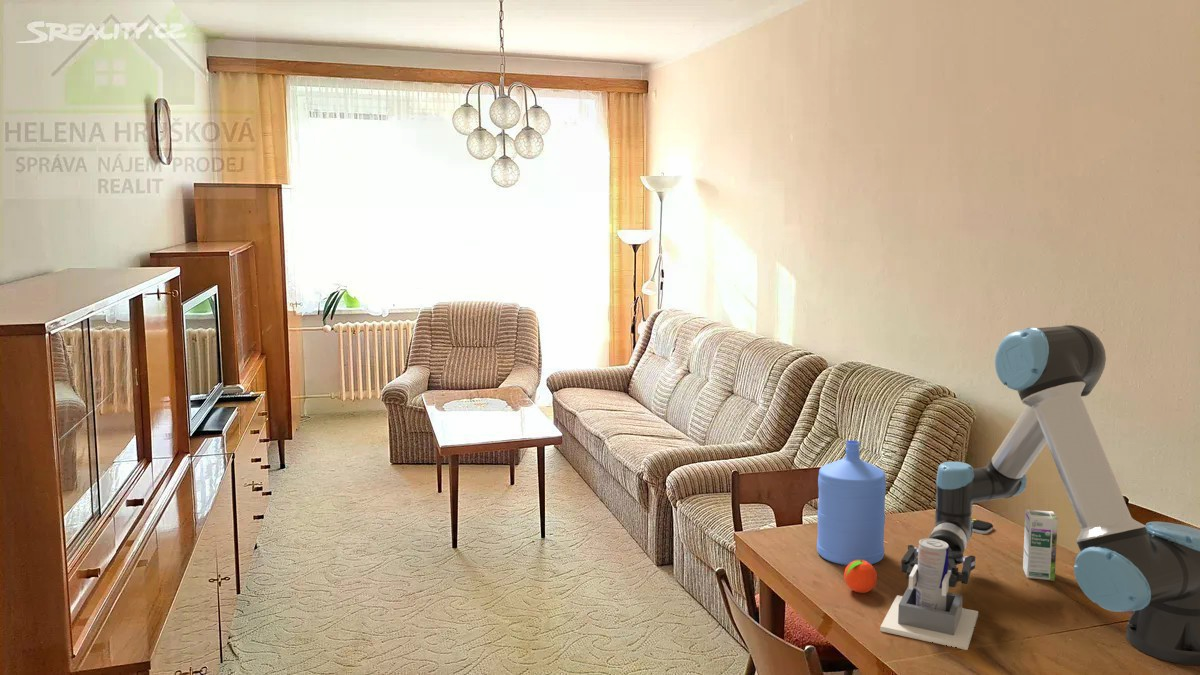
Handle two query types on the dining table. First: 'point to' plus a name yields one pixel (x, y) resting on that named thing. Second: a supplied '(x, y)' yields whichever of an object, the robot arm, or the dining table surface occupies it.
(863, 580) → the clementine
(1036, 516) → the syrup box
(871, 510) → the water jug
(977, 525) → the remote control
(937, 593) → the beverage can
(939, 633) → the can holder
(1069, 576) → the dining table surface
